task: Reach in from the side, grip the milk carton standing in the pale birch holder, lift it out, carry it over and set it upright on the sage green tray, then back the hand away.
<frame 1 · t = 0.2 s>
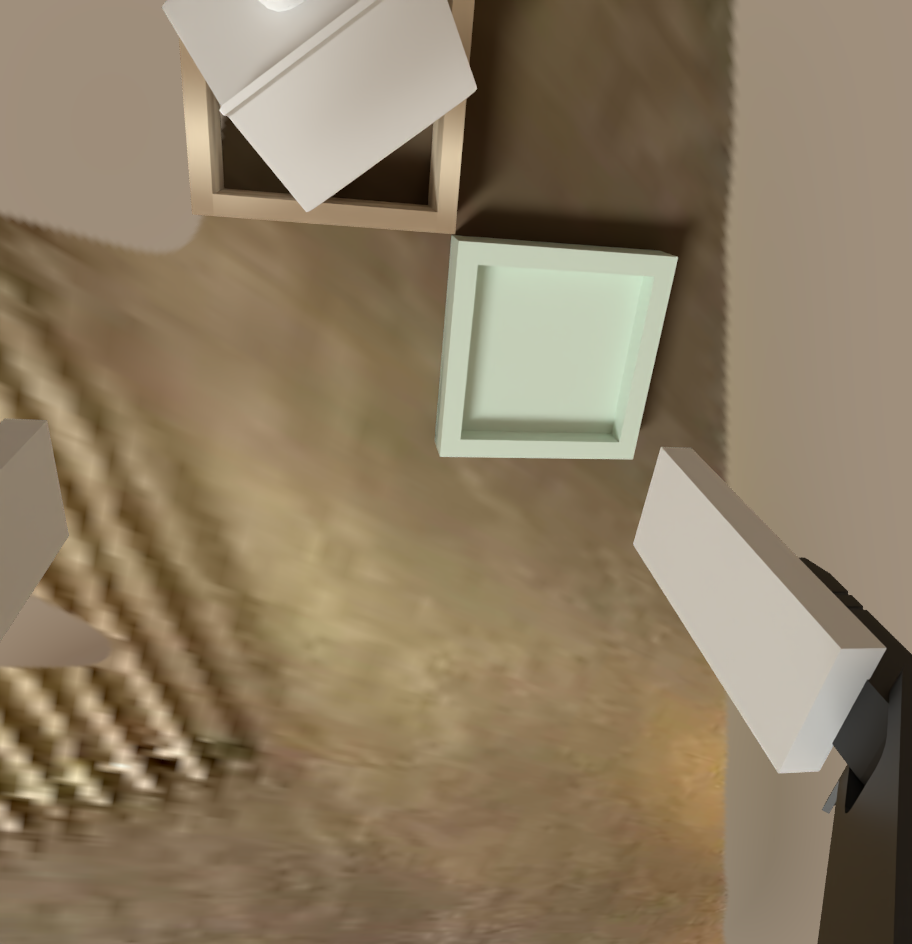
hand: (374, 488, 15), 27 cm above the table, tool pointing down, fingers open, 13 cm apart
holder: (329, 82, 35), on the table
tray: (542, 349, 43), on the table
milk carton: (329, 82, 35), resting in holder
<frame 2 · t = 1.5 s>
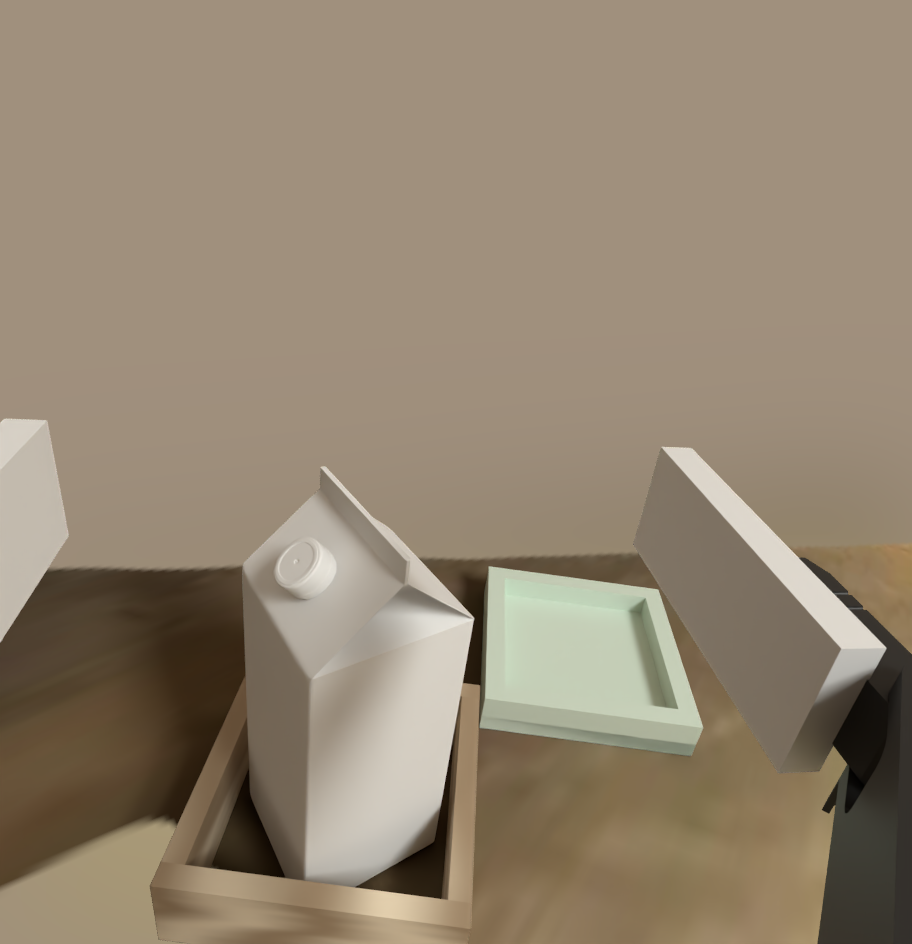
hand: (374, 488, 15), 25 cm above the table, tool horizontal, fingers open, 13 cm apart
holder: (340, 819, 35), on the table
tray: (574, 664, 47), on the table
milk carton: (340, 822, 35), resting in holder
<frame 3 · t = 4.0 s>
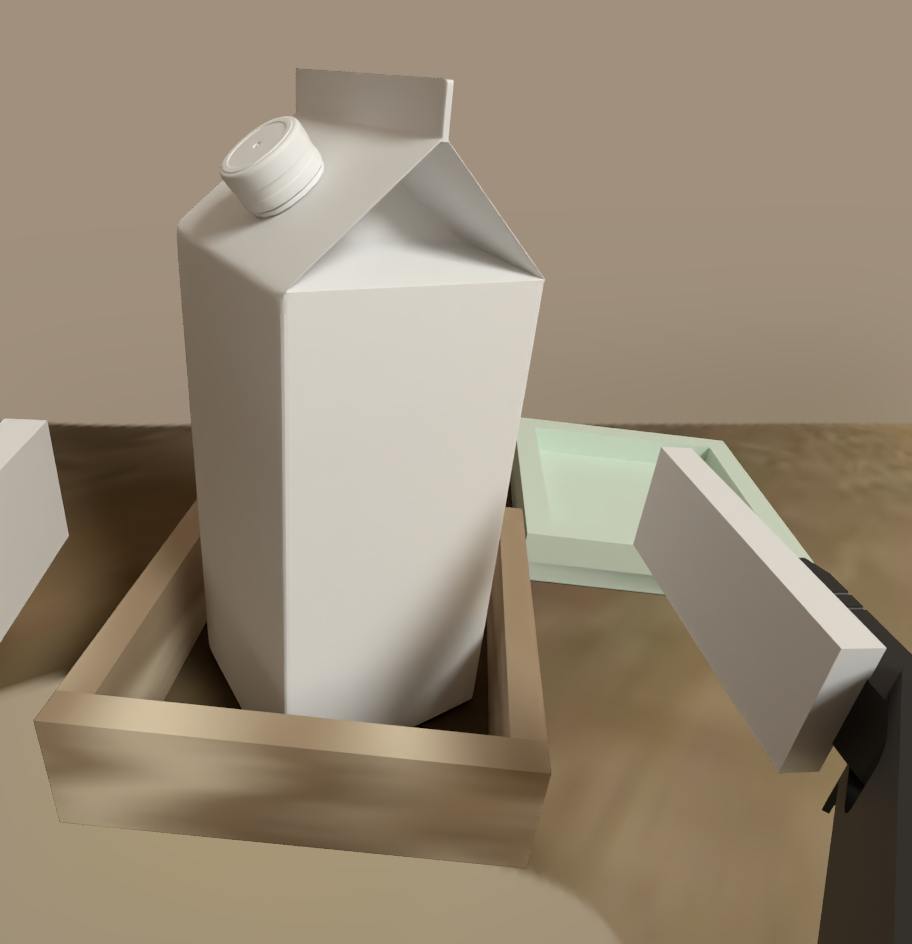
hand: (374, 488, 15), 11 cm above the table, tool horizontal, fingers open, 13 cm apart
holder: (338, 674, 24), on the table
tray: (630, 519, 37), on the table
milk carton: (337, 679, 25), resting in holder
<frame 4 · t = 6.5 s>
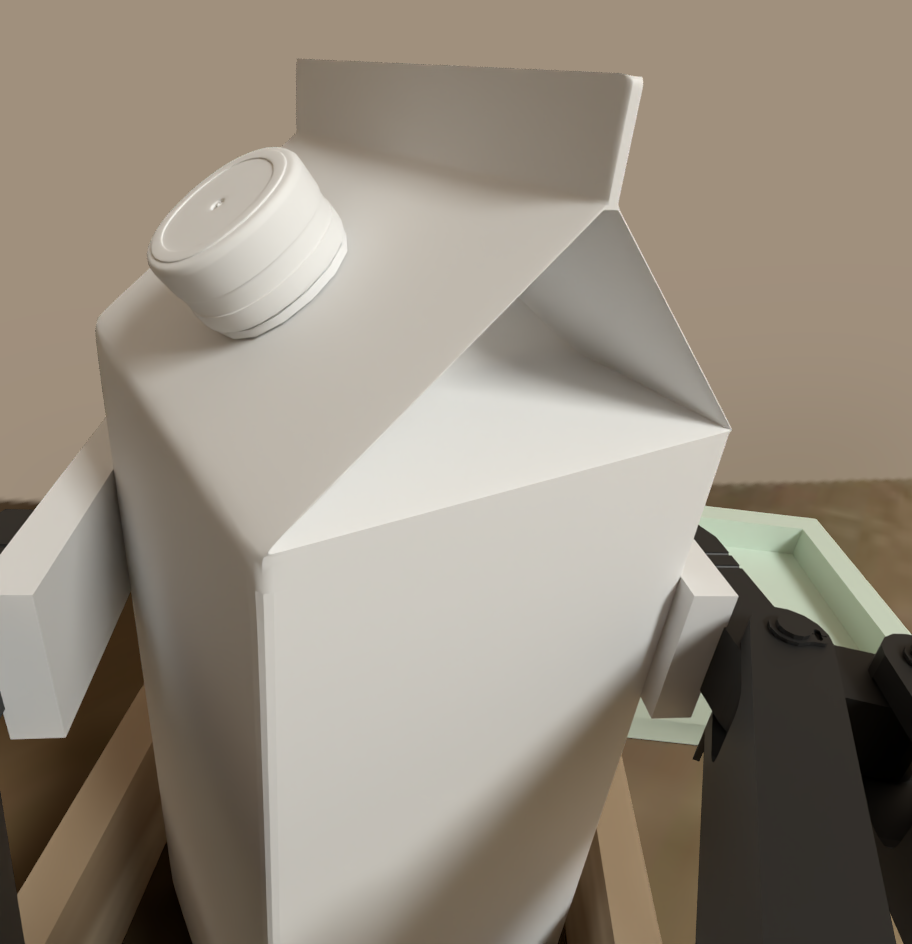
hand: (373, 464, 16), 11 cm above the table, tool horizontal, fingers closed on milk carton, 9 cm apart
holder: (354, 924, 17), on the table
tray: (714, 628, 29), on the table
milk carton: (354, 930, 17), resting in holder, touching gripper
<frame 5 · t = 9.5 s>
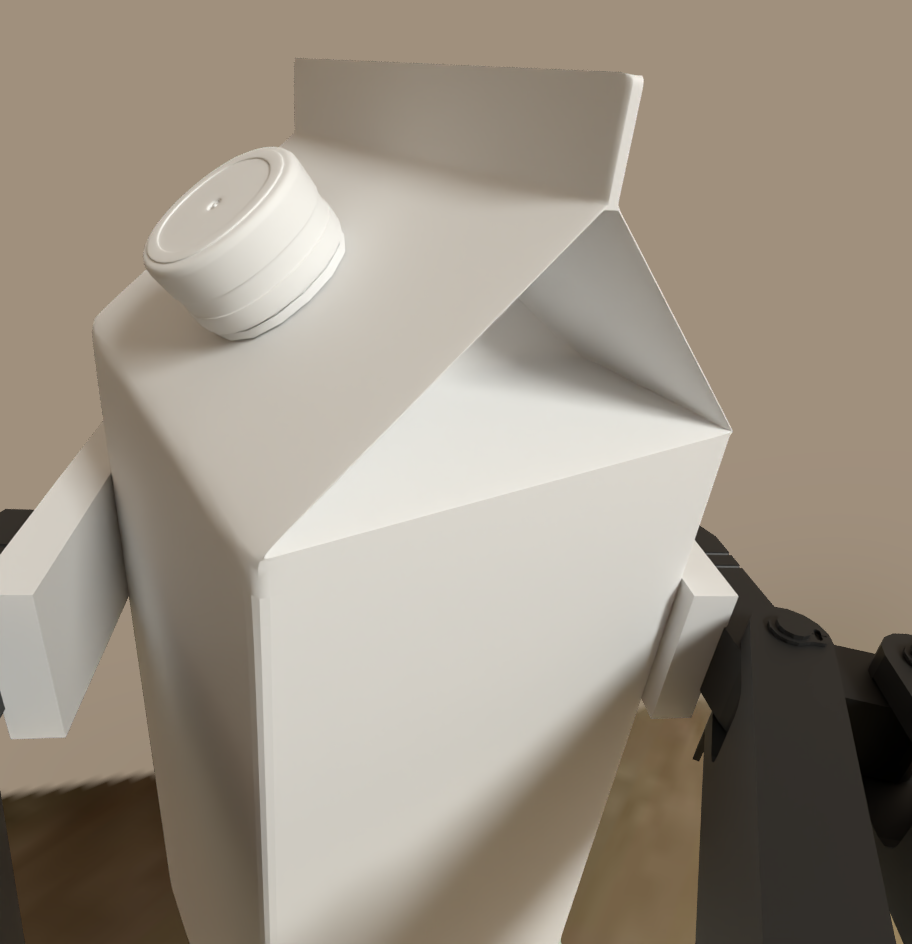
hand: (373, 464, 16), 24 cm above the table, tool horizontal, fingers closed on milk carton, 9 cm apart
milk carton: (353, 933, 17), point 13 cm above the table, touching gripper
when the fingers open (13 cm above the table, at t = 12.7 s): milk carton drops 1 cm, resting on tray.
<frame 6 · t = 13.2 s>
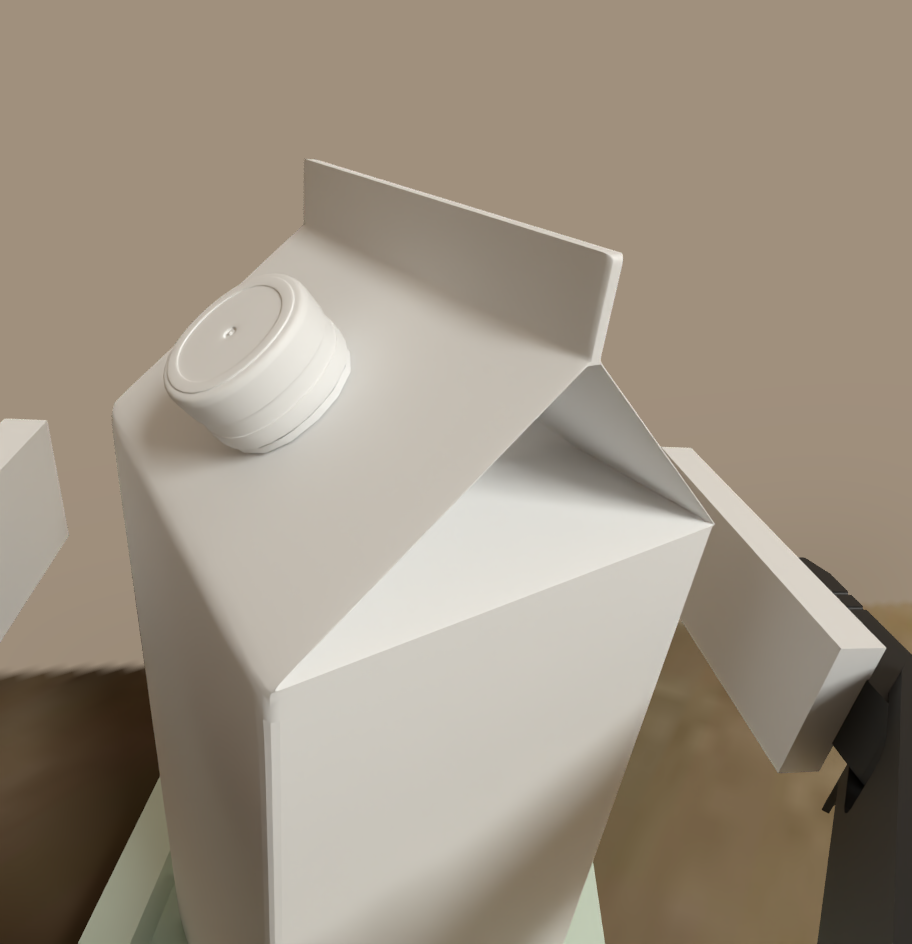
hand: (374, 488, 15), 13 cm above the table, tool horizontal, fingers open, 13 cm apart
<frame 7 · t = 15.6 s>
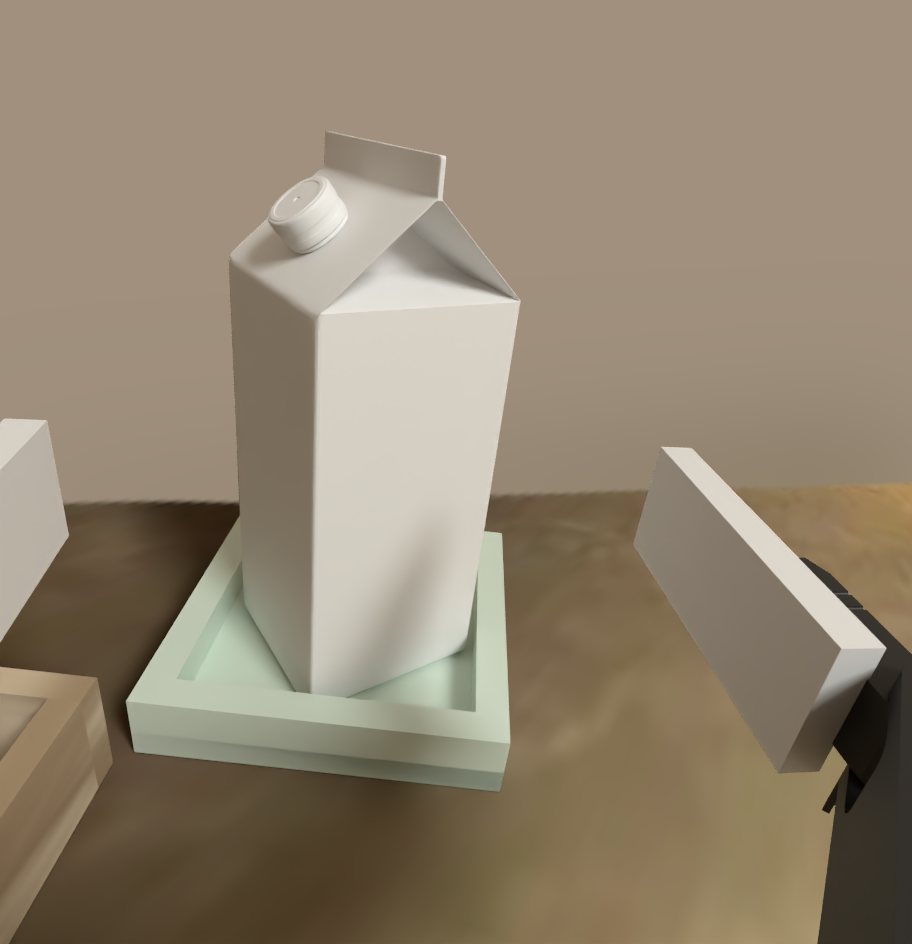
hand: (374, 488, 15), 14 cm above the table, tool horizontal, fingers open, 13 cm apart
tray: (350, 644, 30), on the table
milk carton: (352, 632, 29), point 1 cm above the table, touching tray
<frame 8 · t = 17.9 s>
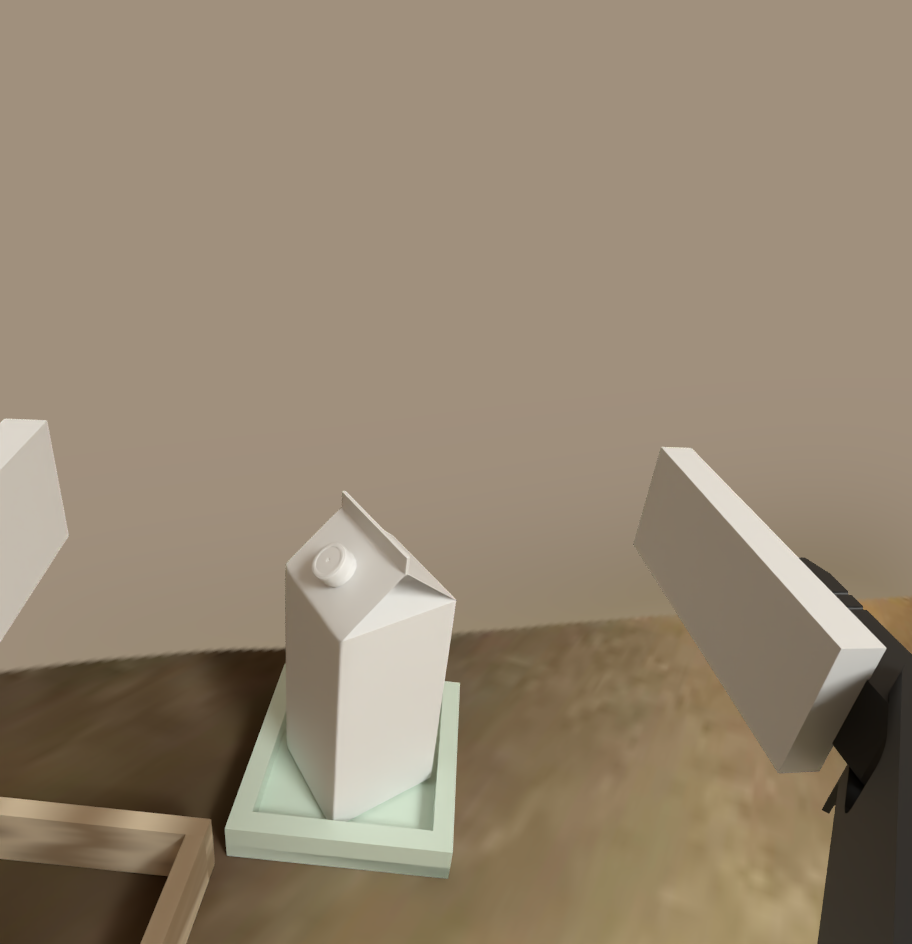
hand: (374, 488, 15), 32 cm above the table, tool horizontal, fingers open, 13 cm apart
tray: (356, 771, 45), on the table
milk carton: (357, 764, 45), point 1 cm above the table, touching tray
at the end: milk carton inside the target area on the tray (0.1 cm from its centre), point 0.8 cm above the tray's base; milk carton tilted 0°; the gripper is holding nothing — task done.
